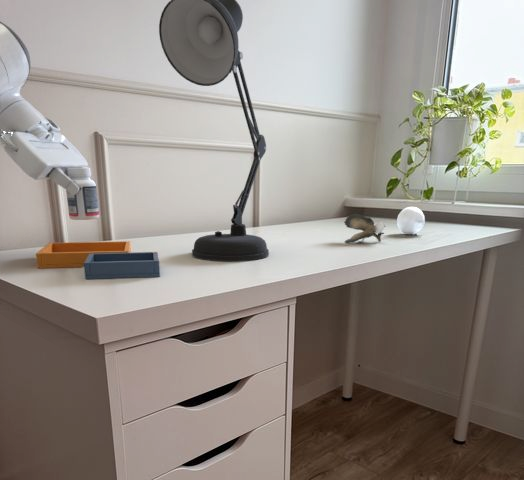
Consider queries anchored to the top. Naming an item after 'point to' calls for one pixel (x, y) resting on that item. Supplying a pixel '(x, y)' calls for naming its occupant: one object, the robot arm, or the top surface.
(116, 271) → the slate tray
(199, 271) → the top surface
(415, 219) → the white egg
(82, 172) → the pill bottle
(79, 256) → the amber tray
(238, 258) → the desk lamp
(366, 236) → the eagle figurine
